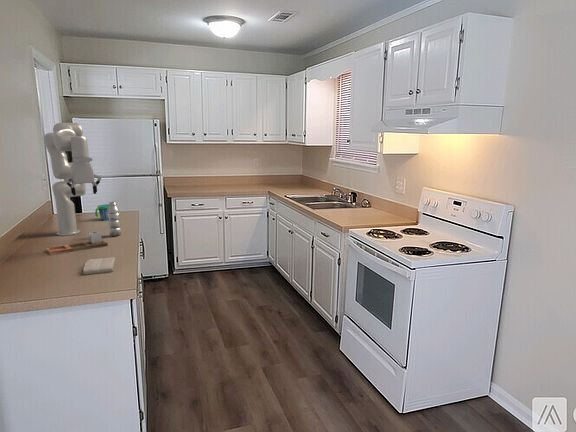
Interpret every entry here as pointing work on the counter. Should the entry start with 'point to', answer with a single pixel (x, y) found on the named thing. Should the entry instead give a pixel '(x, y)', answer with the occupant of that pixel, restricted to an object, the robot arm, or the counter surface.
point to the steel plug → (95, 237)
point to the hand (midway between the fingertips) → (84, 194)
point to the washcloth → (99, 265)
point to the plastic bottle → (113, 219)
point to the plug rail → (69, 247)
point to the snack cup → (103, 211)
